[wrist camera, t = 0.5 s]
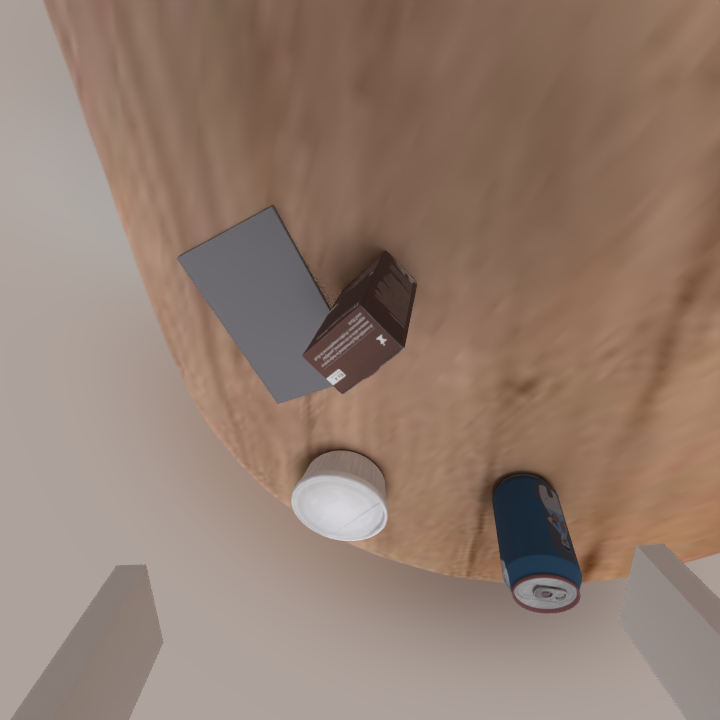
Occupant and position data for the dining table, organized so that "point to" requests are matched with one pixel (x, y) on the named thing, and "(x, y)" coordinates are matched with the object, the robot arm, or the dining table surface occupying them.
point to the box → (364, 325)
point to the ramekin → (342, 497)
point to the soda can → (535, 545)
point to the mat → (263, 300)
